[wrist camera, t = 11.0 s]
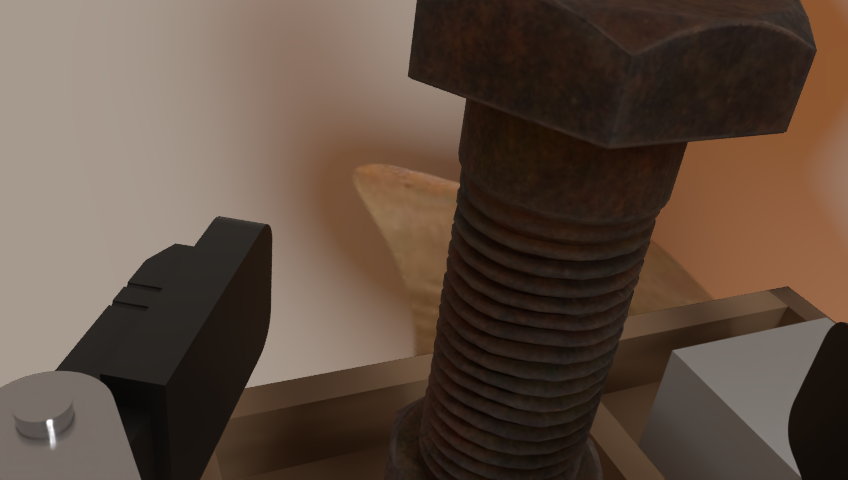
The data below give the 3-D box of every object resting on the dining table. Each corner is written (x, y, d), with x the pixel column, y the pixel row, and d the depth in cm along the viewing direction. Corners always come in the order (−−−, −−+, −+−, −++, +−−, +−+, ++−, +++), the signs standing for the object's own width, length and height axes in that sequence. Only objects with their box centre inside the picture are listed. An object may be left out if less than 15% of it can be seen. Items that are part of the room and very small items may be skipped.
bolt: (385, 778, 15) (526, 20, 8) (307, 567, 19) (350, -83, 12) (621, 675, 18) (908, 17, 10) (510, 505, 22) (657, -68, 14)
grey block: (781, 412, 26) (826, 317, 24) (941, 561, 22) (1014, 459, 20) (636, 452, 24) (672, 350, 22) (781, 628, 19) (844, 520, 17)
